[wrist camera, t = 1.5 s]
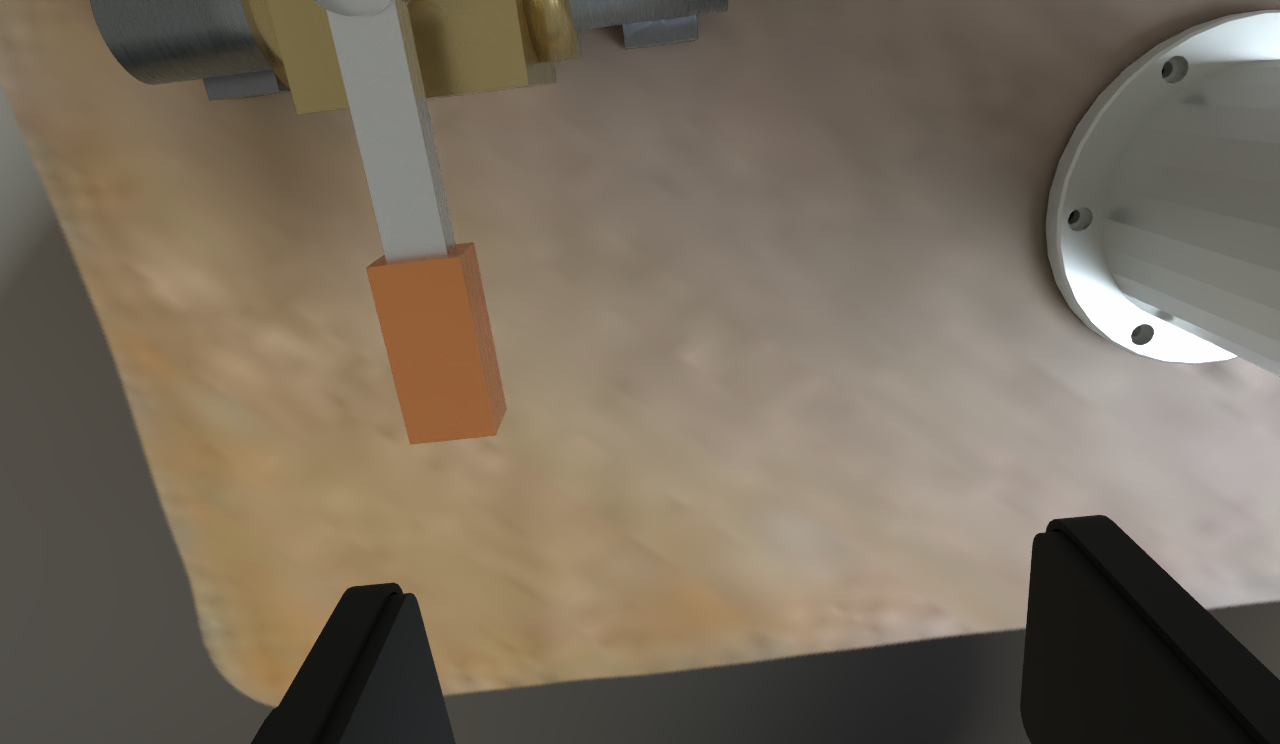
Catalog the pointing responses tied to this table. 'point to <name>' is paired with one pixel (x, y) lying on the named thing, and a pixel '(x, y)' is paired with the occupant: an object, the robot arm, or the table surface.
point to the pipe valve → (307, 60)
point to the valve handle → (415, 234)
